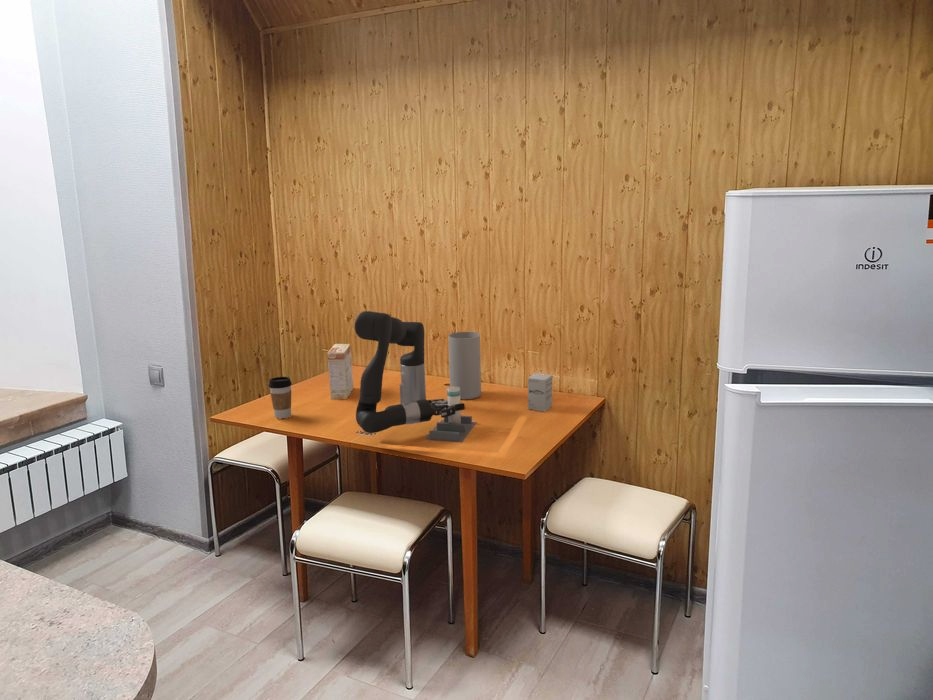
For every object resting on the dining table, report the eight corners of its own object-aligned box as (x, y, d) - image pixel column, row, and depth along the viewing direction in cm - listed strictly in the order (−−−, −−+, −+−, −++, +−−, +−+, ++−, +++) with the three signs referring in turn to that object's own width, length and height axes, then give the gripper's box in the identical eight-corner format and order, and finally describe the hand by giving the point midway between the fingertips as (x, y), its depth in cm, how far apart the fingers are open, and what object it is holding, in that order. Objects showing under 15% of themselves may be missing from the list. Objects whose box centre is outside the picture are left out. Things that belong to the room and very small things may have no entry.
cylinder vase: (454, 401, 286) (452, 339, 280) (447, 392, 298) (445, 333, 292) (484, 398, 289) (483, 337, 283) (476, 389, 300) (475, 330, 294)
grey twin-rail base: (424, 443, 243) (423, 432, 242) (442, 423, 261) (441, 413, 260) (461, 446, 239) (461, 435, 238) (477, 426, 258) (476, 415, 257)
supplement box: (527, 409, 274) (527, 377, 271) (534, 404, 280) (534, 372, 277) (545, 412, 270) (545, 379, 267) (552, 406, 277) (552, 374, 274)
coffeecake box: (337, 388, 307) (334, 343, 303) (354, 388, 307) (351, 343, 302) (329, 399, 293) (326, 352, 288) (347, 399, 293) (344, 352, 288)
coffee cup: (267, 419, 271) (263, 380, 268) (280, 412, 279) (276, 374, 275) (286, 421, 268) (282, 382, 265) (298, 414, 276) (295, 376, 272)
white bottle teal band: (446, 428, 252) (445, 389, 249) (450, 423, 256) (449, 385, 253) (459, 429, 251) (458, 390, 248) (462, 424, 255) (461, 386, 252)
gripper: (422, 407, 239) (469, 399, 246) (407, 395, 252) (452, 388, 258) (423, 428, 241) (470, 420, 248) (408, 416, 253) (453, 408, 260)
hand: (461, 404), depth 253 cm, fingers closed on white bottle teal band, 4 cm apart
